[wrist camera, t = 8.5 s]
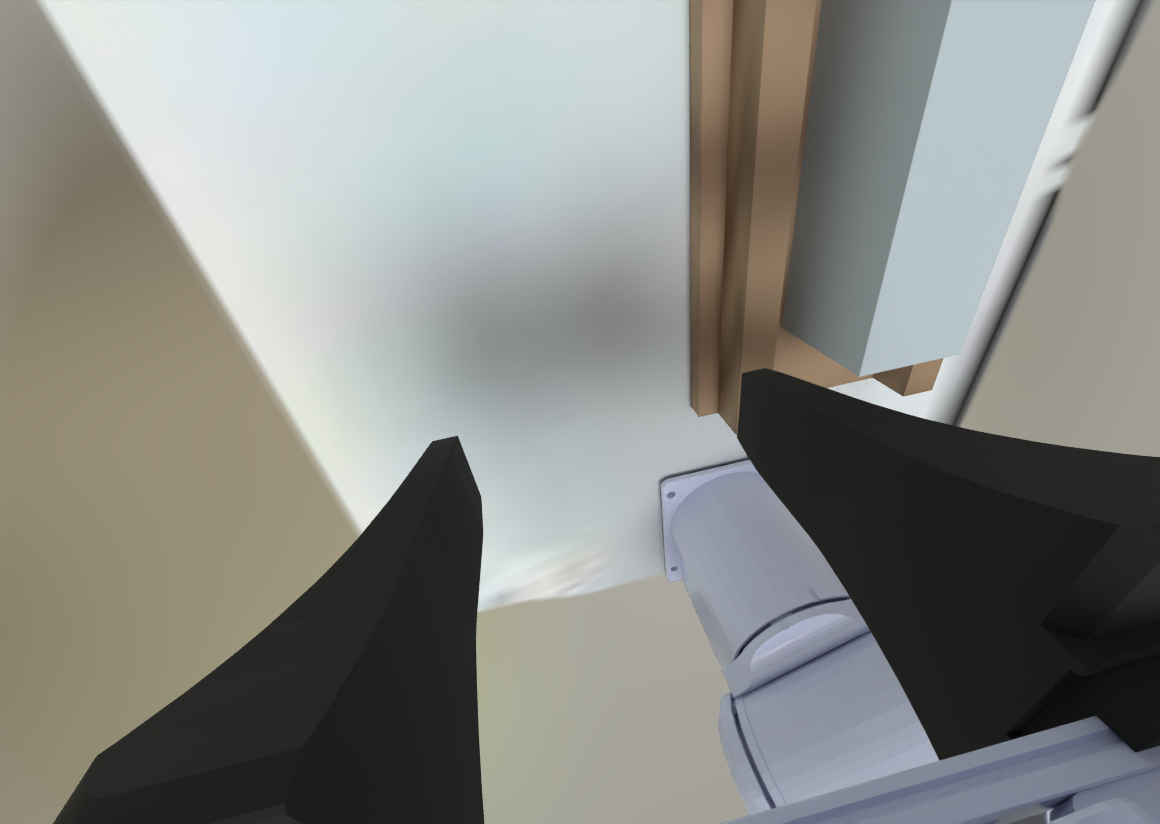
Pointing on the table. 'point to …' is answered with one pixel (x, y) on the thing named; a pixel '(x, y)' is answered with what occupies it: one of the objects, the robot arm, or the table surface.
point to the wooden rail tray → (753, 200)
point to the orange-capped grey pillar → (917, 167)
